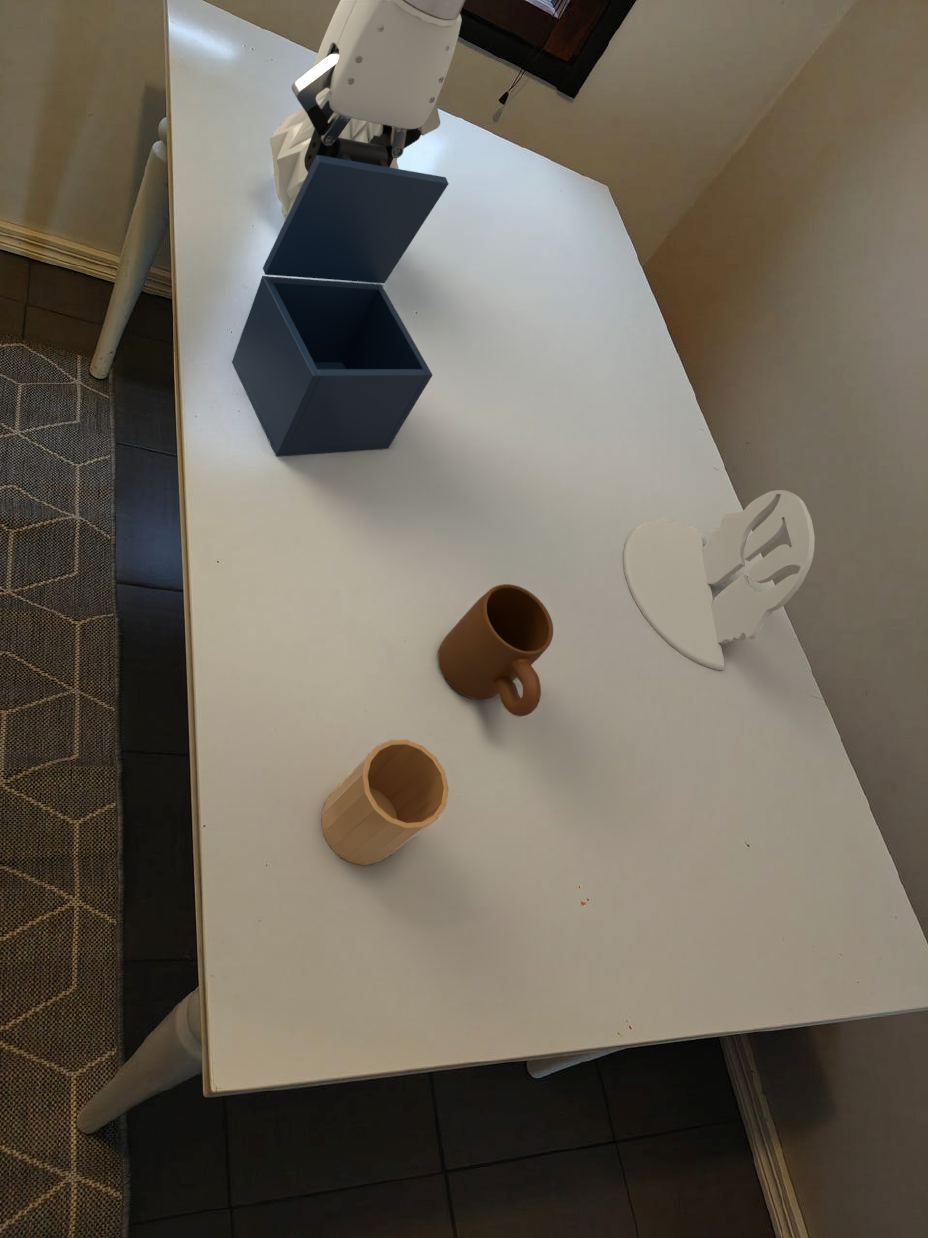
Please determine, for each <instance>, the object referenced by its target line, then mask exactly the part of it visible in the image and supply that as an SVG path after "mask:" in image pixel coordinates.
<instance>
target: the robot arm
mask: <svg viewBox="0 0 928 1238" xmlns="http://www.w3.org/2000/svg"><path fill="white" fill-rule="evenodd" d="M465 2H466V0H340V1H338V4H337V6H336V9H335V11H334V13H333V16H332V18H331V20H330V22H329V25H328V27H327V29H326V31H325V34H324V36H323V39H322V41H321V44H320V47H319V50H318V52H317V55H316V57H315V60H314V63H313V67H312V68H311V69H309V70H308V71H307V72H306V73H304V74H303V75H302V76H300V77H299V78H298V79H296V80H295V81H294V82H293V83H292V84H291V91H292V92H293V94H294V96H295V98H296V100H297V102H298V103H299V104H300V106H301V108H303V109H304V110H305V112H306V113H307V115H308V117H309V119H310V121H311V123H312V125H313V126H314V128H315V129H314V132H313V135H312V138H311V141H310V143H309V146H308V149H307V152H306V155H305V159H304V163H305V168H306V170H307V172H309V170H310V168H311V165H312V163H313V161H314V159H315V157H316V155H320V156H326V157H332V158H335V157H336V154H337V148H336V146H335V145H334V143H335V141H336V140H337V138H338V137H339V135H340V134H341V133H342V131H343V130H344V128H345V127H346V125H347V124H348V122H349V121H350V120H351V118H353V119H358V120H363V121H368V122H372V123H377V124H381V126H380V136H375V135H374V136H373V138H372V139H371V141H370V144H375V145H380V146H384V147H385V148H386V149H387V153H388V159H387V165H388V167H390V165H391V163H392V161H393V158H397V159H398V158H400V157H401V156H402V155H403V154H404V150H405V149H406V148H408V147H409V146H411V145H413V144H414V143H415V142H417V141H419V140H420V138H421V136H422V137H424V136H425V135H427V134H428V133H431V132H433V131H435V130H437V129H439V127H440V126H441V118H440V114H439V109H438V103H437V101H438V98H439V96H440V93H441V91H442V88H443V86H444V83H445V80H446V77H447V75H448V72H449V69H450V66H451V62H452V60H453V57H454V53H455V51H456V46H457V43H458V40H459V36H460V30H461V26H462V21H463V19H462V15H461V12H462V9H463V7H464V5H465ZM325 88H328V89H330V90H329V92H328V93H327V95H326V96H325V98H324V99H323V101H322V102H321V104H320V105H319V104H318V103H317V101H316V96H317V95H318V94H319V93H320V92H321V91H322V90H324V89H325ZM334 112H335V113H336V114H335V115H334V116H333V118H332V119H331V121H330V122H329V123H328V120H329V119H330V117H331V116H332V114H333V113H334Z"/></svg>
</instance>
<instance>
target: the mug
mask: <svg viewBox="0 0 928 1238" xmlns="http://www.w3.org/2000/svg"><path fill="white" fill-rule="evenodd" d="M553 636H554V624H553V620H552V617H551V615H550V612H549V611H548V609H547V607H546V606H545V604H543V602H542V600H540V599H539V598H538V597H537V596H536V595H535V594H533V593H532V592H531V591H530V590H527V589H526V588H524V587H522V586H519V585H516V584H510V583H508V584H507V583H505V584H499V585H495V586H493V587H491V588H490V589H489V590H488V591H486V592H485V594H483V595H482V596H481V597H480V598H479V599H478V600H477V601H475V603H474V604H473V605H472V606H471V607H470V608H469V610H468V611H467V612H466V613H465V614H464V615H463V616H462V617H461V619H460V620H459V621H458V622H457V623H455V626H453V627H452V629H451V630H450V631H449V632H448V633H447V634H446V636H445V637H444V639H442V641H441V644H440V646H439V649H438V665H439V669H440V671H441V674H442V675H443V677H444V678H445V680H446V681H447V683H448V684H449V685H450V686H451V687H452V688H453V689H454V690H455V691H457V692H458V693H459V694H461V695H463V696H465V697H468V698H471V699H477V700H485V699H490V698H492V697H495V696H497V695H499V698H500V701H501V703H502V705H503V707H504V709H506V711H507V712H509V713H510V714H511V715H513V716H516V717H525V716H528V715H531V714H532V713H533V712H534V711H535V710H536V709H537V707H538V705H539V703H540V701H541V695H542V687H541V682H540V677H539V675H538V672H536V670H535V669H534V667H533V664H534V663H535V662H537V660H539V658H540V657H541V656H542V655H543V654H544V653H545V651H546V650H547V649H548V648H549V647H550V645H551V644H552V641H553V638H554V637H553ZM516 679H518V680H519V682H520V684H521V686H522V696H520V694H519V691H518V687H517V685H516V683H515V682H514V681H516Z"/></svg>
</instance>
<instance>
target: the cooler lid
mask: <svg viewBox="0 0 928 1238" xmlns="http://www.w3.org/2000/svg"><path fill="white" fill-rule="evenodd" d="M334 145H335V146H336V148H337V154H336V157H335V158H332V157H326V156H320V155H316V157H315V159H314V161H313V163H312V165H311V168H310V170H309V172H308V174H307V176H306V178H305V180H304V182H303V184H302V186H301V189H300V191H299V193H298V195H297V197H296V199H295V201H294V203H293V205H292V207H291V210H290V212H289V214H288V216H287V218H286V217H285V219H286V220H284V222H283V225H282V227H281V229H280V231H279V232H278V234H277V236H276V239H275V241H274V243H273V245H272V248H271V249H270V252H269V253H268V256H267V258H266V260H265V262H264V264H263V267H262V270H263V273H264V276H274V277H288V278H301V279H315V280H329V281H342V282H356V283H370V284H386V282H387V281H388V279H389V277H390V276H391V274H392V273H393V272H394V270H395V268H396V266H397V265H398V264H399V262H400V260H401V258H402V257H403V256H404V254H405V252H406V251H407V250H408V248H409V247H410V245H411V244H412V242H413V240H414V238H415V237H416V235H417V234H418V232H419V231H420V229H421V227H423V225H424V224H425V221H426V220H427V219H428V217H429V215H430V214H431V212H432V211H433V209H434V208H435V206H436V204H437V203H438V201H439V200H440V198H441V197H442V195H443V193H444V192H445V190H446V189H447V188H448V186H449V182H448V179H447V177H446V176H441V175H434V174H429V173H423V172H417V171H414V170H413V171H412V170H406V169H400V168H399V169H395V168H390V167H388V165H387V159H388V153H387V149H386V148H385V147H384V146H380V145H375V144H370V143H365V142H359V141H354V140H349V139H344V138H337V140H336V141H335V143H334Z"/></svg>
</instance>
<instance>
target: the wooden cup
mask: <svg viewBox="0 0 928 1238" xmlns="http://www.w3.org/2000/svg"><path fill="white" fill-rule="evenodd" d="M449 790H450V789H449V784H448V780H447V774H446V772H445V770H444V769H443V766H442V764H441V763H440V761H439V760H438V758H437V757H436V756H435V755H434V754H433V753H431V752H430V750H428V749H427V748H426V747H425V746H423V745H422V744H419V743H416V742H413V741H411V740H408V739H390V740H387V741H385V742H383V743H381V744H379V745H376V746H375V747H374V748H373V749H372V750H371V752H369V753H368V754H367V756H365V758H363V759H362V761H361V762H360V763H359V764H358V765H357V766H356V767H355V768H354V769H353V770H352V771H351V772H350V773H349V774H348V775H347V776H346V777H345V778H344V779H343V780H342V781H341V782H340V783H339V784H338V785H337V787H335V788H334V790H333V791H332V793H331V794H329V796H328V798H327V799H326V800H325V802H324V805H323V808H322V810H321V811H322V812H321V819H320V821H321V829H322V833H323V835H324V838H325V840H326V842H327V844H328V845H329V847H330V849H332V851H334V853H335V854H337V856H339V857H340V858H342V859H343V860H345V861H347V862H349V863H351V864H355V865H362V866H369V865H374V864H377V863H380V862H381V861H384V860H385V859H386V858H389V857H390V856H391V855H393V854H394V853H395V852H397V851H398V850H400V849H401V848H402V847H403V846H404V845H406V844H407V843H408V842H410V841H411V840H412V839H414V838H415V837H417V836H418V835H419V834H420V833H422V832H423V831H424V830H425V829H426V828H428V827H429V826H431V825H432V824H433V823H435V822H436V821H437V820H438V819H439V817H440V816H441V814H442V813H443V812H444V810H445V809H446V806H447V803H448V798H449Z"/></svg>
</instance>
